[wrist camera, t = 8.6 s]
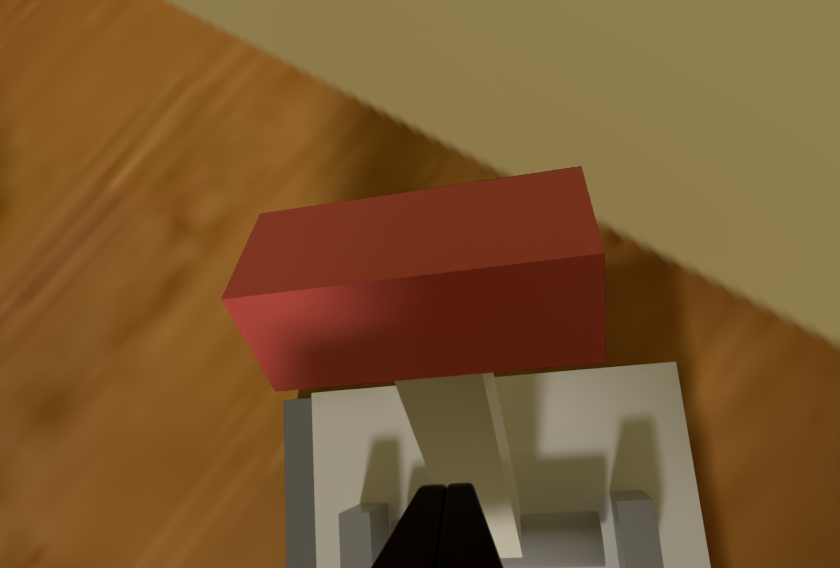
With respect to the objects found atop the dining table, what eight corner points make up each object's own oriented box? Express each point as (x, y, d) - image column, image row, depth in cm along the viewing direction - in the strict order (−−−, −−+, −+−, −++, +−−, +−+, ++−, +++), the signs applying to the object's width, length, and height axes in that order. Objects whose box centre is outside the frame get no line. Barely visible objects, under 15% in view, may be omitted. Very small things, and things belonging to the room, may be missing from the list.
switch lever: (608, 593, 14) (604, 252, 7) (397, 596, 14) (221, 299, 8) (594, 510, 15) (580, 166, 9) (403, 518, 16) (260, 213, 9)
